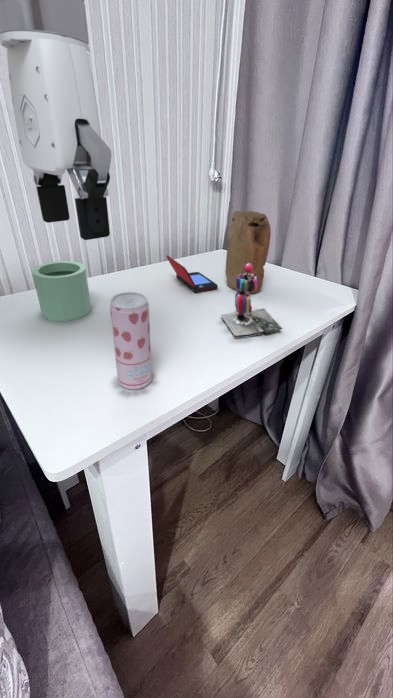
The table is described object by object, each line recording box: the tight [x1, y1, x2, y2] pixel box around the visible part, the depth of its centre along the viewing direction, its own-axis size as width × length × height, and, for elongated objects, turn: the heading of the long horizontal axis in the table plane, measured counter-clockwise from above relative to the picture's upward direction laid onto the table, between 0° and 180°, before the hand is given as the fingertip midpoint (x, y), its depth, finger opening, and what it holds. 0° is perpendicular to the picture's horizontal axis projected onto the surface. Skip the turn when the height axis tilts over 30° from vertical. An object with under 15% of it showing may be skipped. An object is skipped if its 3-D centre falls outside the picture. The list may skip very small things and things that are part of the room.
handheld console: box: [165, 255, 219, 293], centre depth 92 cm, size 12×11×7 cm
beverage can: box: [109, 291, 153, 391], centre depth 52 cm, size 6×6×15 cm
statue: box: [220, 263, 283, 340], centre depth 70 cm, size 11×9×15 cm
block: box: [224, 210, 272, 294], centre depth 88 cm, size 11×8×20 cm
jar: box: [31, 260, 92, 322], centre depth 74 cm, size 11×11×10 cm
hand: (74, 228), depth 39 cm, fingers open, 9 cm apart
